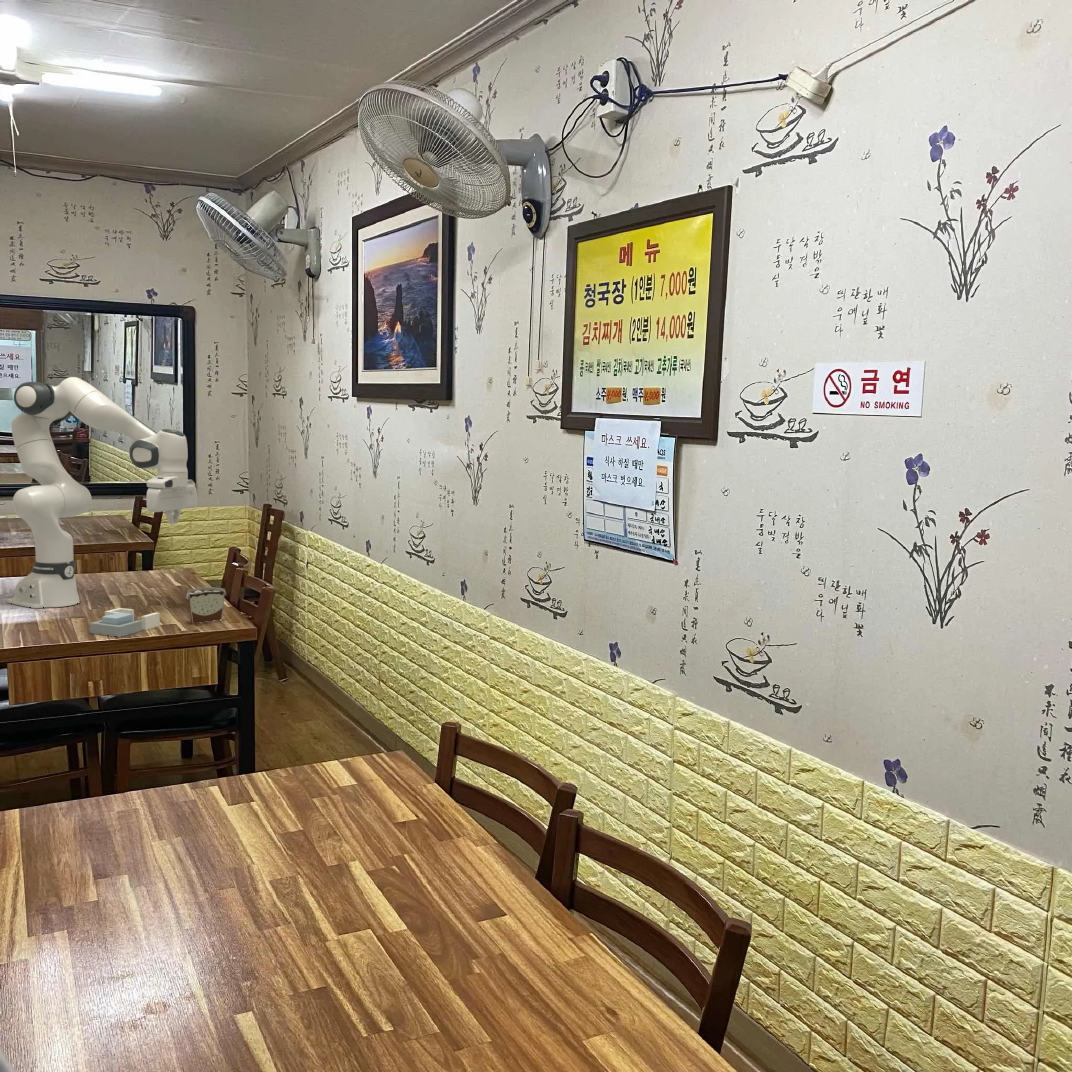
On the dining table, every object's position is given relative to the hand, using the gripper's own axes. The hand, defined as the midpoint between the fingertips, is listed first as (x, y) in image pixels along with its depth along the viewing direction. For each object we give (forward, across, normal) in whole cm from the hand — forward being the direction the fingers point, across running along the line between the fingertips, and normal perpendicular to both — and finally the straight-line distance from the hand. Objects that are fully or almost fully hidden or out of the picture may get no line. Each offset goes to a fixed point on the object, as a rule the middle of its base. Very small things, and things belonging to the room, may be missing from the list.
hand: (173, 523), depth 312 cm
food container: (+28, +8, +18) cm, 34 cm away
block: (+28, +31, +6) cm, 43 cm away
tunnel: (+28, +23, +4) cm, 37 cm away
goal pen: (+28, +31, +6) cm, 42 cm away
